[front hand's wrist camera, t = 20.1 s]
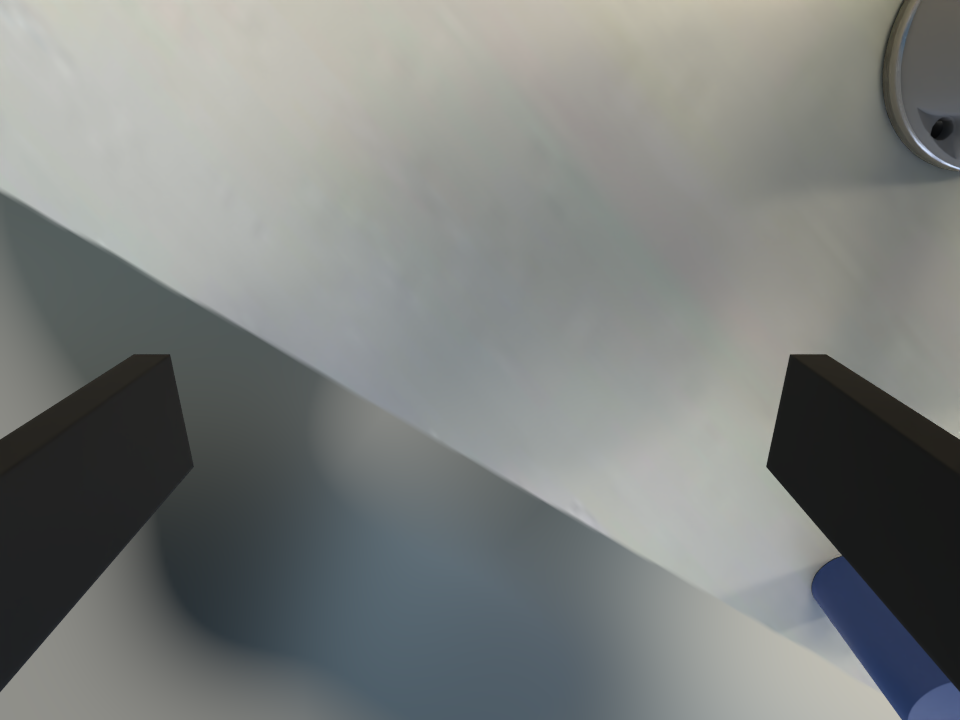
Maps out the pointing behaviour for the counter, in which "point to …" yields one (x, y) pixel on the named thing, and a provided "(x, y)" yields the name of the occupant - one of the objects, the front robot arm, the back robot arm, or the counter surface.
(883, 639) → the can
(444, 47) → the counter surface
